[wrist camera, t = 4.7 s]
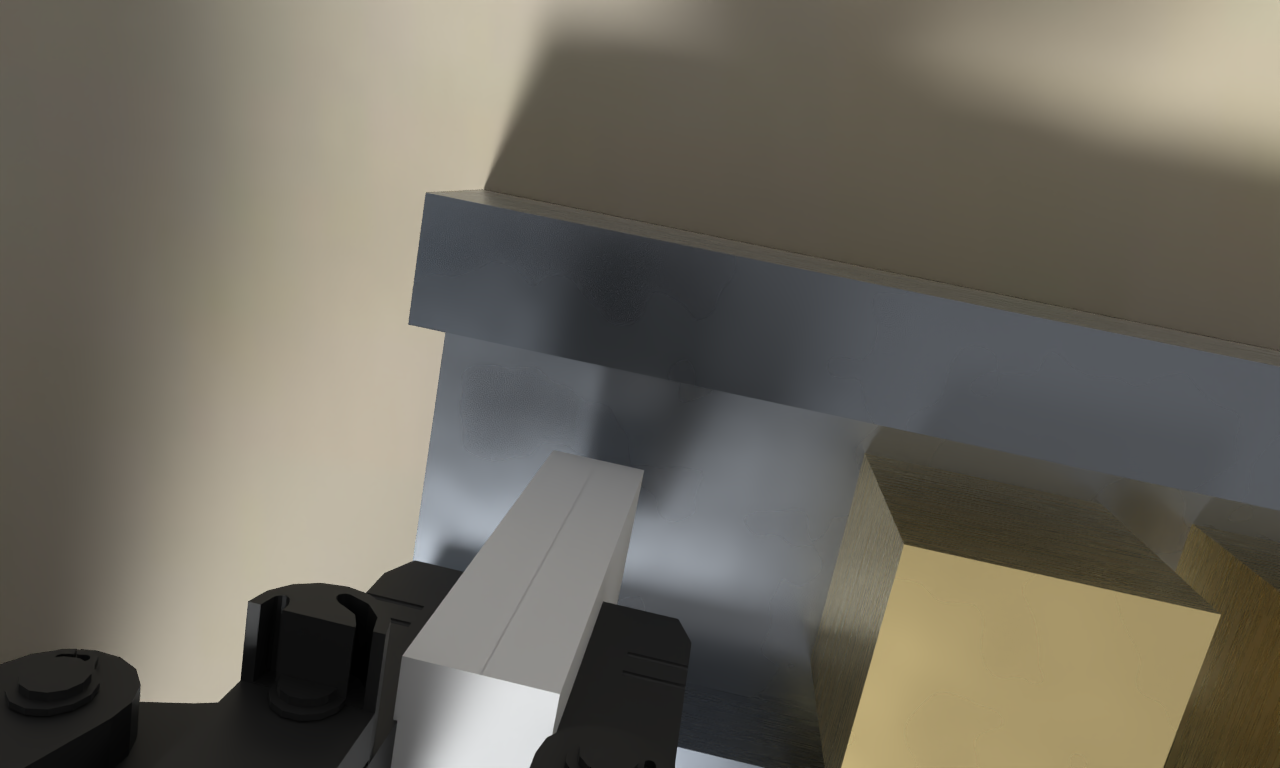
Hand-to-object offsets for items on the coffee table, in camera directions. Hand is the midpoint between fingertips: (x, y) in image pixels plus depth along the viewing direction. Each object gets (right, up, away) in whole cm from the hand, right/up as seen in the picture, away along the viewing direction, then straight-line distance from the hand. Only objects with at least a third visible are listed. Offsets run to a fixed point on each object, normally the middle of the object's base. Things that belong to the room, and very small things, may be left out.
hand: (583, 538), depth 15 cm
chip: (+6, -1, +1) cm, 7 cm away
